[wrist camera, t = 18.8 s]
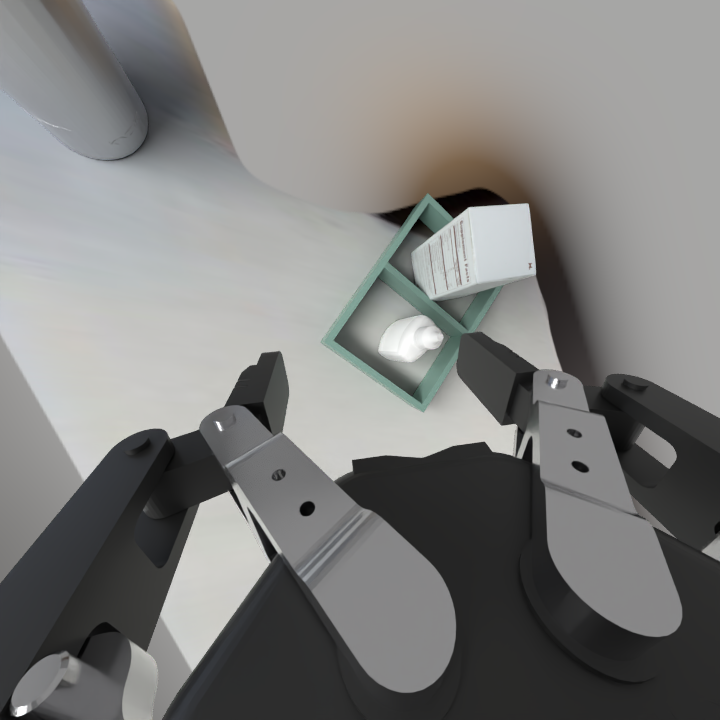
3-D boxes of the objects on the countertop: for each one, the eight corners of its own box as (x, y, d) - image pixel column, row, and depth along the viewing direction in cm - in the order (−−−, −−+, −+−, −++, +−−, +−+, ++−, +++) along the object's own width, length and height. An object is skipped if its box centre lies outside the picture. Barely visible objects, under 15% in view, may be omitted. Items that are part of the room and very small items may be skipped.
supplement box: (454, 247, 38) (532, 201, 26) (461, 298, 39) (539, 276, 27) (408, 251, 36) (468, 204, 24) (416, 305, 37) (478, 285, 25)
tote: (320, 342, 34) (323, 342, 31) (414, 207, 37) (427, 193, 33) (411, 406, 38) (423, 412, 35) (491, 280, 40) (510, 274, 37)
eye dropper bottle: (368, 335, 36) (406, 330, 24) (402, 316, 37) (454, 303, 25) (383, 363, 37) (426, 371, 25) (415, 344, 38) (471, 343, 26)
